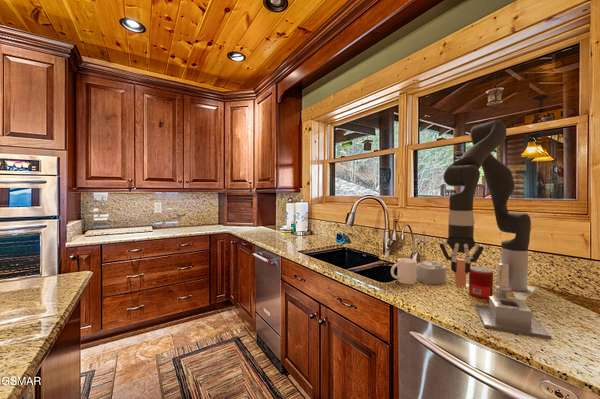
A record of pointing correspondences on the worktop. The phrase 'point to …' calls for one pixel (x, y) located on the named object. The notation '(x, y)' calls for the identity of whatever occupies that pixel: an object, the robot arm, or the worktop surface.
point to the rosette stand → (509, 310)
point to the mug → (405, 271)
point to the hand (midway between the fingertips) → (460, 272)
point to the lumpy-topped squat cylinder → (431, 272)
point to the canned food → (480, 282)
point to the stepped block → (460, 273)
